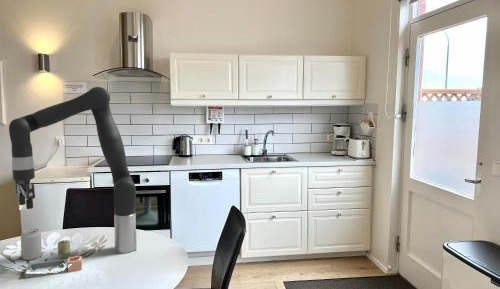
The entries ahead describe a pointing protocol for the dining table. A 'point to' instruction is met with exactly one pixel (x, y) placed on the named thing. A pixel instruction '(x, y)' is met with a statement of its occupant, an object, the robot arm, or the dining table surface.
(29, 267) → the trough
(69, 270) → the cup
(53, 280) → the dining table surface
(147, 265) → the dining table surface
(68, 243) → the cell
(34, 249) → the can
